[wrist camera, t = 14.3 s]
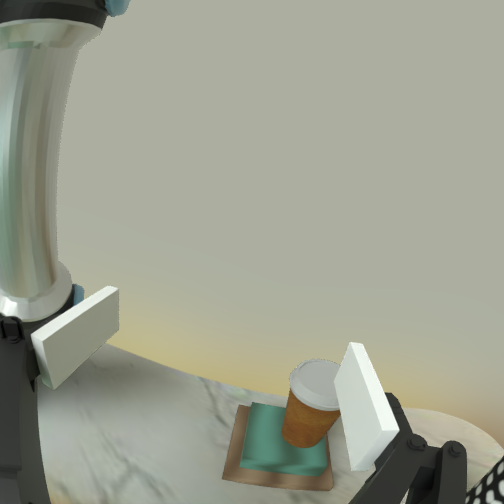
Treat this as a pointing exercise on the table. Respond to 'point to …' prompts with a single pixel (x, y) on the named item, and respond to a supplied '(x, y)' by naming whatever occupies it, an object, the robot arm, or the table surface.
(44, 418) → the table surface
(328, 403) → the disposable coffee cup
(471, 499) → the white-spotted black cylinder
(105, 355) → the table surface
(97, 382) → the table surface
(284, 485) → the display stand
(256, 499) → the table surface
